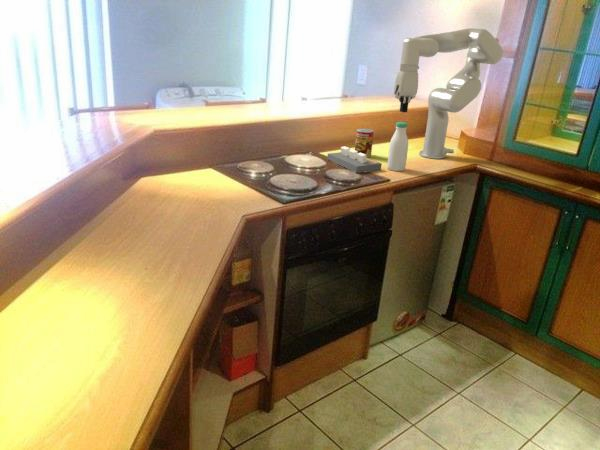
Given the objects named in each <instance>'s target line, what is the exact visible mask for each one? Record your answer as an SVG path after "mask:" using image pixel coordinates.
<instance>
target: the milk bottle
mask: <svg viewBox="0 0 600 450" xmlns="http://www.w3.org/2000/svg"><path fill="white" fill-rule="evenodd" d="M407 128H408V123H407V122H404V121H403V122H402V121H397V122H396V123H395V131H394V133H393V135H392V136H391V139H390V142H389V148H388V156H387V157H388V158H387V165H386V168H387V170H390V171H393V172H404V171H405V170H406V166H407V159H408V150H409V139H408V135H407Z"/></svg>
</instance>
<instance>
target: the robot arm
mask: <svg viewBox="0 0 600 450" xmlns="http://www.w3.org/2000/svg"><path fill="white" fill-rule="evenodd" d="M467 49H468V50H467ZM462 50H463V51H464V50H467V53H466V61H465V65H464V66H463V68H461V70H459V71H458V72H457V73H456V74H455V75H453V77H451V78H450V79H449V80H448V82H447V84H446V88H443V87H437V88H436V87H435V88H434V89H432V90H431V91H430V93H429V94H428V99H427V100H428V101H427V104H428V106H427V107H428V111H427V112H428V116H427V121H426V129H425V135H424V142H423V147H422V148H423V149H422V150H420V151H419V153H418V154H419V156H421V157H424V158H428V159H435V160H437V159H438V160H439V159H444V158H446V157H447V154H454V152H455V150H454V149H452V148H448V147H447V148H446V147H445V144H446V137H447V132H448V126H449V118H450V117H449V113H458V112H461V111H462V110H464V109H465V108H466V107H467V106H468V105H469V104H470V103H472V101H474V100H475V99H476V98H477V97H478V96H479V94H480V92H481V90H482V82H481V80H480V76H481V64H486V65H495V64H498V63H499V62H500V61H501V60H502V58H503V55H504V54H503V53H504V51H503V48H502V46H501V44H500V43H499V42H498V41H497V39H496V38H495V37H494V35H493V34H492V33H490V32H489V30H487V29H485V28H469V27H467V28H464V29H458V30H454V31H449V32H441V33H440V32H439V33H434V34H433V33H432V34H427V35H422V36H421V35H420V36H416V37H413V38H411V37H407V38H404V39H403V43H402V49H401V51H402V52H401V59H400V68H399V71H398V72H397V74H396V77H395V82H394V87H393V95H395V97H394V98H395V99H397V100H398V101H399V103H400V106H399V112H400V113H408V110H409V109H408V108H409V104H410V103H411V100H412V99H415V98H416V95H417V93H418V89H419V71H418V70H419V69H420V66H419V64H420V57H422V58H433V57H434V56H436V55H438V53H447V54H448V53H453V52H458V51H462ZM448 112H449V113H448Z"/></svg>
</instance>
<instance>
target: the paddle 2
mask: <svg viewBox="0 0 600 450" xmlns="http://www.w3.org/2000/svg"><path fill="white" fill-rule="evenodd" d="M357 161H359V162H361V163H365V162H367V158H366V154H363V153H361V152H360V153H358V154H357Z"/></svg>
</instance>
